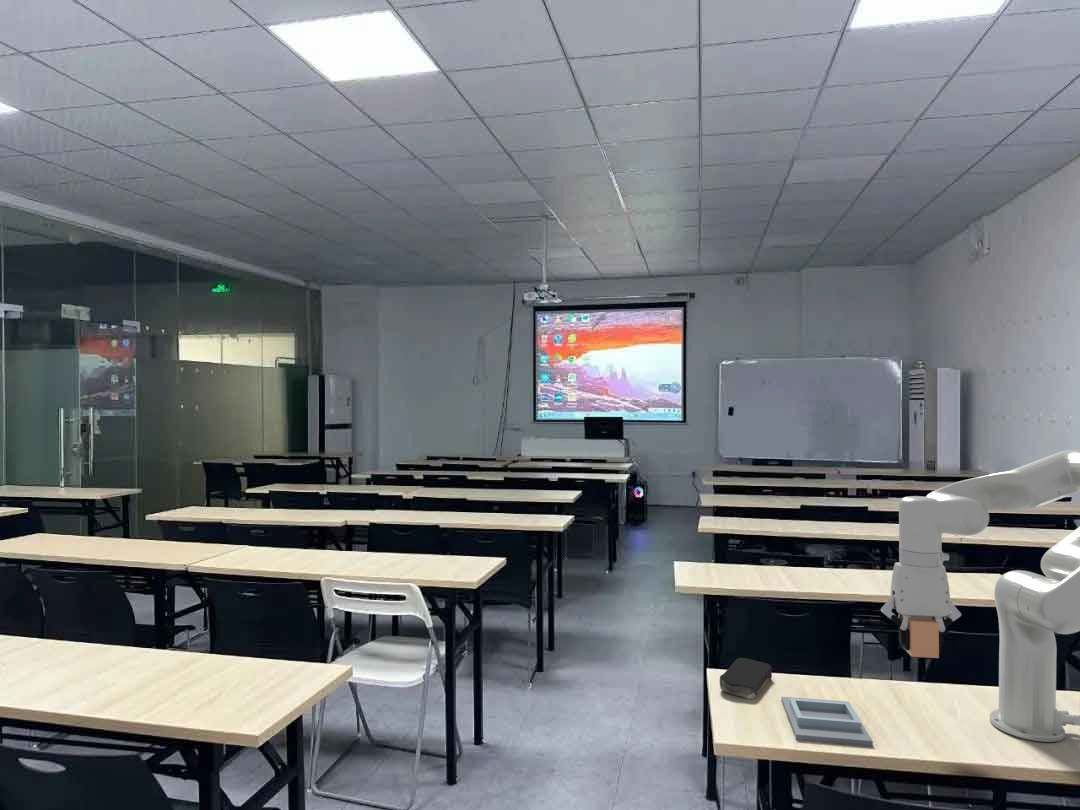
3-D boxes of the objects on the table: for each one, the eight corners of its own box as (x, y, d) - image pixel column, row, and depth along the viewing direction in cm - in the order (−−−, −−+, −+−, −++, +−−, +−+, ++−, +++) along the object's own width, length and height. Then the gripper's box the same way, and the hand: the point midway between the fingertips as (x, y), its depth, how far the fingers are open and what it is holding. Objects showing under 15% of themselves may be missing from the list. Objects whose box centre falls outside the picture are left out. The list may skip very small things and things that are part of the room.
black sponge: (738, 671, 173) (738, 656, 173) (773, 678, 169) (773, 663, 169) (716, 694, 159) (716, 678, 159) (754, 703, 155) (754, 686, 155)
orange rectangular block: (929, 649, 144) (929, 615, 144) (938, 658, 139) (938, 622, 139) (903, 647, 145) (903, 613, 145) (911, 656, 140) (911, 621, 140)
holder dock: (848, 706, 153) (848, 694, 153) (872, 746, 135) (872, 733, 135) (781, 701, 155) (781, 689, 155) (796, 739, 138) (796, 726, 138)
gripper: (958, 555, 144) (959, 644, 144) (869, 553, 147) (870, 640, 147) (974, 564, 137) (974, 658, 137) (880, 561, 140) (880, 653, 140)
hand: (920, 647), depth 142 cm, fingers closed on orange rectangular block, 5 cm apart
